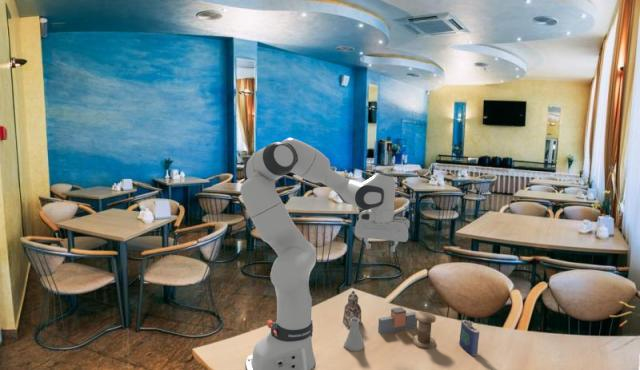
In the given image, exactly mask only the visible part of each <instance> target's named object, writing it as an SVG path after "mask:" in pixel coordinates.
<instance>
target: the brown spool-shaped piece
mask: <svg viewBox="0 0 640 370" xmlns="http://www.w3.org/2000/svg"><path fill="white" fill-rule="evenodd" d="M415 318H416V320H417V322H418V325H417V328H418V329H417V334H416V335H414V336H412V340H411V343H412V344H413V345H414V346H416V347H418V348H421V349H432V348H434V347H435V346H436V340H435V339H434V337H432V334H431V333H432V324H433V323H435V322H436V318H437V317H436V316H435V315H434V313H431V312H427V311H418V312H416V315H415Z"/></svg>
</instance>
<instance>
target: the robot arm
mask: <svg viewBox="0 0 640 370" xmlns="http://www.w3.org/2000/svg"><path fill="white" fill-rule="evenodd" d="M242 168H243V170H242V171H243V173H242V174H243V177H244V180H243V181H244V182H243V183H242V185H241V186H240V194H241V195H240V196H241V198H242V201H243V204H244V206H245V210H246V211H247V214H248V215H249V217H250V220H251V221H252V223H253V226H254V227H255V229H256V231H257V233H258V235H259V236H260V238H261V240H262V241H263V242H265V243H267V244H268V245H269V246H270V247H271V248H272V250H274V253H276V255H277V257H276V258H275V260H274V262H273V264H272V267H271V269H270V270H271V271H270V275H269V276H270V277H269V278H270V281H271V283H272V284H273V286H274V290H275V294H276V295H275V296H276V321H275V322H273V320H272V319H268V320H267V321H266V326H267V327H268V328H269V329H270V332H269V333H267V335H265V336H264V337H263V338H262V339H260V340H259V341H258V342H256V343H255V345H254V347H253V352H252V354H250V355H248V356H247V357H246V359H245V369H246V370H312V369H313V368H314V367H315V364H316V357H315V354H314V350H313V349H314V348H313V343H312V340H313V339H312V337H313V333H314V326H313V320H312V309H313V308H312V306H313V305H312V304H313V303H312V302H313V301H312V300H313V298H312V296H311V293H310V286H309V280H310V275H311V272H312V270H313V269H314V267H315V266H316V261H317V250H316V248H315V247H316V246H314V244H313V243H311V242H310V241H308V239H307V238H306V237H305V235H303V233H302V232H301V231H300V229H298V227H297V226H296V224H295V223H294V220H293V219H292V217H291V215H290V213H289V212H288V210H287V208H286V206H285V203H283V201H282V198H281V196H280V195H279V193H278V191H277V188H276V181H277V180H279V179H281V178H282V177H284V176H286V175H287V174H289V173H290V172H291V173H293V174H294V175H296V176H298V177H299V178H302V179H304V180H306V181H308V182H311V183H314V184H318V183H320V184H322V185H324V186H326V187H327V188H329V189H331V190H332V191H334V192H335V193H337V196H338V198H339V199H340V200H341V201H342V202H344V203H346V204H348V205H352V206H353V207H356V208H358V209H361V210H362V211H361V212H360V213H359V214H358V220H357V221H356V223H355V228H354V229H355V230H354V235H355V237H357V238H363V242H364V243H365V246H366V247H365V248H366V250H371V247H372V246H371V245H372V244H371V243H369V239H374V240H382V241H392V242H393V243H394V244H393V245H392V246H391V247H390V252H392V253H396V252H395V251H396V247H397V246H398V244H399V242H401V243H406V242H408V240H409V228H410V224H411V222H410V220H409V218H407V217H404V216H402V217H401V216H396V215H395V203H394V202H395V199H396V181H395V177H394V176H392V175H391V174H387V173H383V172H375V173H374V174H373V175H372V176H371V177H369V178H368V179H366V180H363V181H361V180H358V179H356V178H352V177H345V176H342V175H341V174H339V173H338V172H336V170H333V169H332V168H331V162H330V159H329V158H328V157H327V156H325V154H324V153H322V152H321V151H319V149H317V148H315V147H313V146H312V145H310V144H308V143H306V142H303V141H302V140H299V139H296V138H292V137H288V138H286V139H283V140H281V141H277V142H272V143H268V145H266V146H265V147H263V148H260V149H258V150H257V151H256V152H255V153H253V154H252V155H251V156H249V158H247V160H246V161H245V162H244V165H243V167H242Z"/></svg>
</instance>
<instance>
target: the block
mask: <svg viewBox="0 0 640 370" xmlns="http://www.w3.org/2000/svg"><path fill="white" fill-rule="evenodd" d="M406 313H407V310H406V309H405V308H403V307H402V306H401V307H395V308H391V309H390V316H391V317H392V318H393V326H394V327H401V326H405V320H406Z"/></svg>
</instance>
